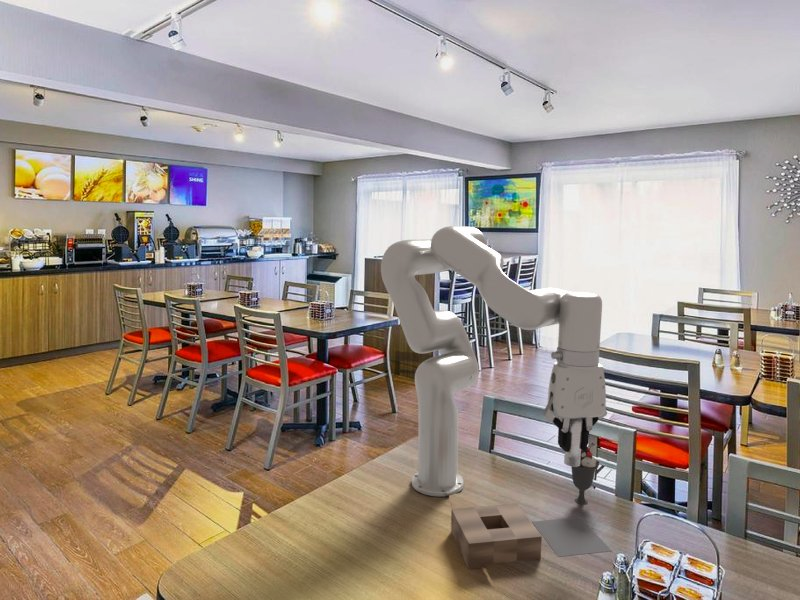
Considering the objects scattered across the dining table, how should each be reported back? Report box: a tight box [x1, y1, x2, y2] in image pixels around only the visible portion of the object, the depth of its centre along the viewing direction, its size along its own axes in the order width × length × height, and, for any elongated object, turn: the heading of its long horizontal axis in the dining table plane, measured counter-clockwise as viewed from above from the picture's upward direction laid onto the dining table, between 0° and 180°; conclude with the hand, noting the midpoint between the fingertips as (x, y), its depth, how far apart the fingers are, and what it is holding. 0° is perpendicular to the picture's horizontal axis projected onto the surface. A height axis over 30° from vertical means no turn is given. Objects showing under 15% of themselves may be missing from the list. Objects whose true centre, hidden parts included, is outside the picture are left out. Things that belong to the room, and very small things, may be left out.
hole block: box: [450, 503, 543, 570], centre depth 102 cm, size 12×14×5 cm
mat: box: [531, 516, 613, 558], centre depth 105 cm, size 12×11×1 cm
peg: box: [563, 418, 583, 468], centre depth 102 cm, size 3×3×10 cm
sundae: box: [570, 442, 600, 506], centre depth 117 cm, size 7×7×15 cm
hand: (572, 447), depth 103 cm, fingers closed on peg, 3 cm apart
